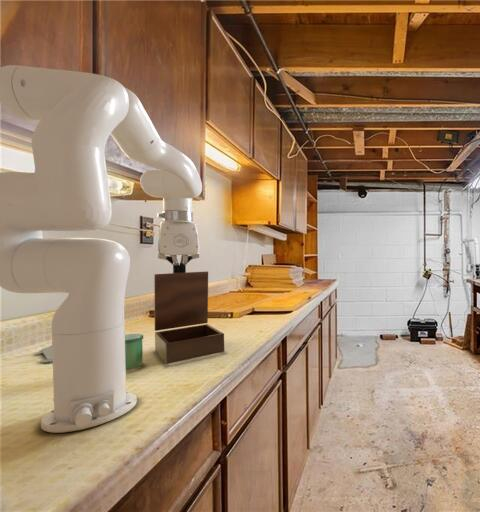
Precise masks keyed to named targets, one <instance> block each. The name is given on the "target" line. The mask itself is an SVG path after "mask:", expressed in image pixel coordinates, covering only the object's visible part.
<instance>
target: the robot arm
mask: <svg viewBox="0 0 480 512" xmlns="http://www.w3.org/2000/svg"><path fill="white" fill-rule="evenodd" d="M0 104H1V106H3V107H4V108H5V110H7V111H8V112H10V113H11V114H12V115H13V116H16V117H17V118H20V119H22V120H24V121H28V122H37V125H36V126H35V128H34V131H33V132H32V136H31V147H32V148H31V149H32V156H33V164H34V172H27V171H24V172H23V171H3V172H0V287H1V288H2V289H3V290H5V291H7V292H10V293H17V294H55V293H58V294H59V293H62V294H68V295H67V297H66V298H65V299H64V300H63V302H62V303H61V304H60V305H59V306H58V308H57V309H56V310H55V312H54V314H53V316H52V319H51V345H52V357H53V361H52V386H53V388H52V389H53V391H52V392H53V409H51V410H50V411H48V412H47V413H46V414H45V415H43V416H42V418H41V419H40V429H41V430H42V431H43V432H48V433H52V434H53V433H55V434H58V433H70V432H77V431H81V430H85V429H90V428H93V427H97V426H99V425H103V424H105V423H108V422H110V421H113V420H115V419H118V418H120V417H122V416H123V415H125V414H126V413H128V412H130V411H132V409H133V408H134V407H135V406H136V405H137V402H138V398H137V397H138V396H137V395H136V394H135V393H133V392H131V391H127V370H126V364H125V335H126V329H125V327H126V326H125V325H126V322H125V304H126V303H125V301H126V290H127V284H128V279H129V275H130V269H131V257H130V253H129V251H128V250H127V249H126V248H125V247H124V246H123V245H122V244H121V243H119V242H116V241H114V240H110V239H104V238H96V237H44V236H43V235H44V234H43V232H82V231H83V232H85V231H87V232H88V231H96V230H100V229H102V228H105V227H106V226H108V225H109V223H110V222H111V219H112V212H113V211H112V201H111V199H112V198H111V193H110V185H109V178H108V172H107V164H106V144H107V142H108V139H109V137H110V136H111V137H112V139H113V141H114V142H115V143H116V144H117V146H118V147H119V149H120V150H121V152H122V153H123V154H124V156H125V157H127V158H128V159H130V160H132V161H134V162H136V163H139V164H141V165H144V166H147V167H150V168H153V169H149V170H146V171H144V172H143V173H142V174H141V176H140V179H139V184H140V187H141V188H142V191H143V192H144V193H145V194H146V195H148V196H149V197H153V198H161V199H162V208H163V209H162V212H157V214H156V215H157V218H158V219H159V218H160V219H162V221H161V222H160V225H159V231H158V241H157V250H158V254H157V259H159V260H164V261H167V262H169V263H170V264H171V265H172V273H185V272H187V269H186V268H187V265H188V263H189V262H191V261H192V260H196V259H199V258H200V239H199V238H200V237H199V230H198V225H197V223H196V222H194V210H193V207H194V206H193V205H194V203H193V199H196V198H199V197H200V195H201V194H202V192H203V181H202V179H201V176H200V174H199V172H198V170H197V167H196V166H195V164H194V162H193V161H192V160H191V158H189V157H188V156H187V155H186V154H184V153H183V152H181V151H180V150H179V149H177V148H176V147H174V146H173V145H171V144H169V143H167V142H166V141H164V140H162V139H161V136H160V134H159V132H158V130H157V128H156V127H155V125H154V124H153V122H152V120H151V118H150V115H148V113H147V111H146V109H145V107H144V105H143V104H142V102H141V100H140V99H139V97H138V96H137V95H136V93H134V92H133V91H132V90H130V89H129V88H127V87H125V86H124V85H123V84H122V83H121V82H119V81H118V80H116V79H115V78H112V77H110V76H106V75H102V74H97V73H92V72H91V73H90V72H86V71H77V70H76V71H75V70H68V69H57V68H47V67H38V66H27V65H18V64H17V65H16V64H11V65H8V64H7V65H5V66H4V65H3V66H1V67H0ZM178 256H180V262H179V261H178Z"/></svg>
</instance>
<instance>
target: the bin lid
mask: <svg viewBox="0 0 480 512" xmlns="http://www.w3.org/2000/svg"><path fill="white" fill-rule="evenodd" d="M153 276H154V278H153V280H154V281H153V282H154V283H153V284H154V285H153V286H154V290H153V291H154V294H153V295H154V331H155V332H159V331H166V330H172V329H179V328H185V327H192V326H199V325H205V324H208V322H209V321H208V320H209V271H188V272H187V271H186V272H185V273H173V272H165V273H154V275H153Z"/></svg>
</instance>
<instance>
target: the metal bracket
mask: <svg viewBox="0 0 480 512" xmlns="http://www.w3.org/2000/svg"><path fill="white" fill-rule="evenodd" d="M41 354H42V355H43V357H44V358H45V359H42V360H40V363H42V364H43V363H50V362H53V357H52V344H51V345H49V346H46V347H43V348H41V349H40V350H39V351H38V352H37V353H35V355H36V356H38V355H41Z"/></svg>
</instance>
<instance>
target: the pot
mask: <svg viewBox="0 0 480 512" xmlns="http://www.w3.org/2000/svg"><path fill="white" fill-rule="evenodd" d="M143 339H144V334H142V333H128V334H125V364H126V371H128V370H132V369H137V368H139V367H141V366H142V365H144V351H143V349H144V348H143V347H144V346H143Z"/></svg>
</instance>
